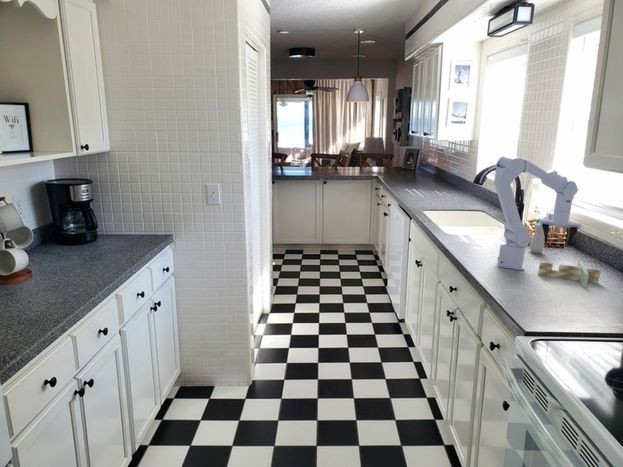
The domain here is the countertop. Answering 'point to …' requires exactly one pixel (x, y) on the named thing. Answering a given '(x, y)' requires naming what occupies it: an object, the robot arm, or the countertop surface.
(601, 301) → the countertop surface
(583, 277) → the green plate
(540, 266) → the maple slat
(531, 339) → the countertop surface
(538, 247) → the salt shaker
